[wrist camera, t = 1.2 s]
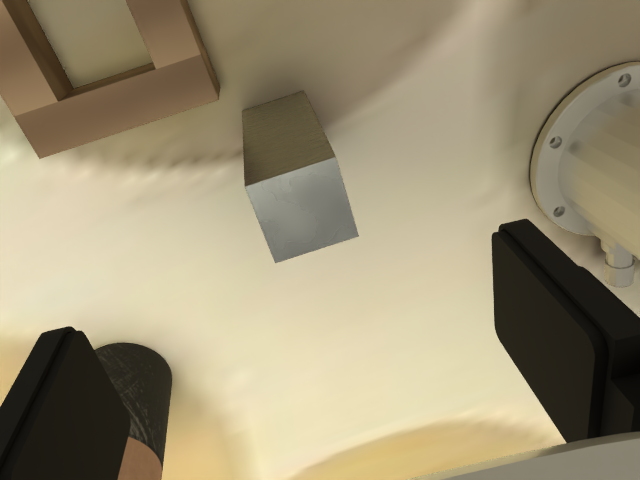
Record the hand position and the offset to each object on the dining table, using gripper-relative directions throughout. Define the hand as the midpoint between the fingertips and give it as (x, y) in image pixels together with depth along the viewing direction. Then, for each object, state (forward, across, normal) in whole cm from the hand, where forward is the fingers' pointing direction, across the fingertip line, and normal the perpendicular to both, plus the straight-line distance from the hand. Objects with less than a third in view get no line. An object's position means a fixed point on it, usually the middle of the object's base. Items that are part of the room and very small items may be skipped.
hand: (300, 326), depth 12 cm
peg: (+23, 0, +2) cm, 23 cm away
